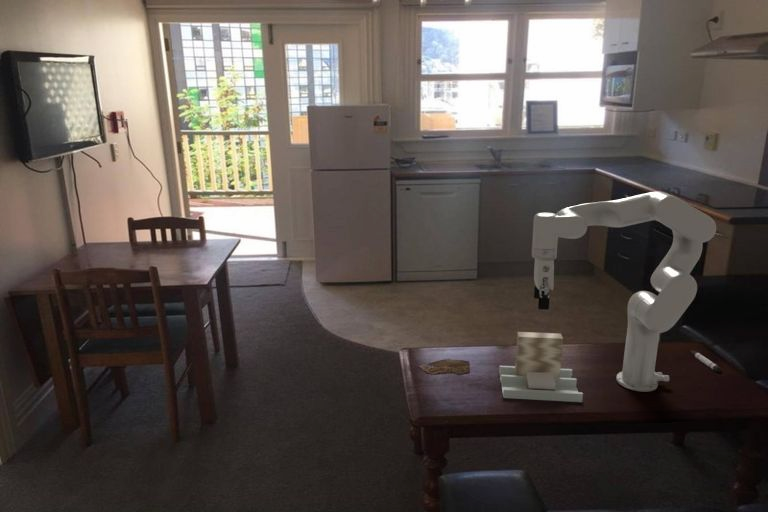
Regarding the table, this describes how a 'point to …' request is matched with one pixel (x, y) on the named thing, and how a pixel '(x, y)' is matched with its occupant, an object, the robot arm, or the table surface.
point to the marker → (706, 361)
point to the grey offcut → (541, 380)
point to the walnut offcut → (537, 388)
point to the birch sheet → (538, 353)
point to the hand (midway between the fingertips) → (541, 303)
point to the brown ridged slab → (447, 367)
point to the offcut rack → (517, 389)
